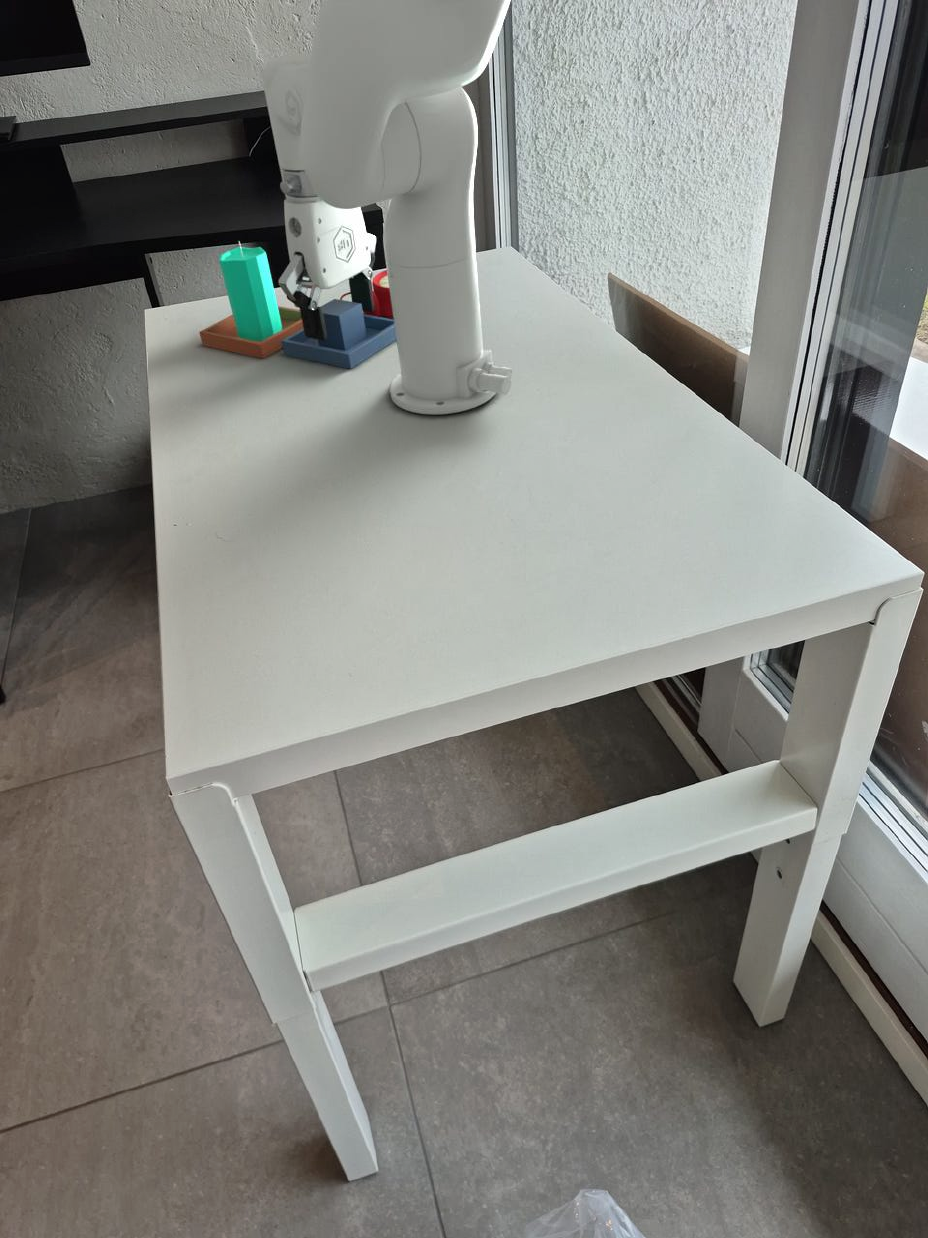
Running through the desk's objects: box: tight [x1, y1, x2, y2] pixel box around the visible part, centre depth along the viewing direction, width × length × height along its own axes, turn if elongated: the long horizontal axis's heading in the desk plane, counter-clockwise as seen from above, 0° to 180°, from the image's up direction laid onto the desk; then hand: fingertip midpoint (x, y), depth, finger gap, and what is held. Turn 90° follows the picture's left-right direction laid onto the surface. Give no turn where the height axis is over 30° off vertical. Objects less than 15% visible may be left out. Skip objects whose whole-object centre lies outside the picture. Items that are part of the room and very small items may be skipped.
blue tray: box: [281, 313, 397, 370], centre depth 117 cm, size 11×11×2 cm
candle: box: [218, 240, 282, 342], centre depth 118 cm, size 6×6×12 cm
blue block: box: [318, 298, 367, 350], centre depth 116 cm, size 4×4×4 cm
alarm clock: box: [339, 269, 394, 319], centre depth 124 cm, size 10×6×15 cm
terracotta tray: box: [198, 305, 303, 359], centre depth 122 cm, size 11×11×2 cm
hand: (340, 323), depth 116 cm, fingers open, 9 cm apart
